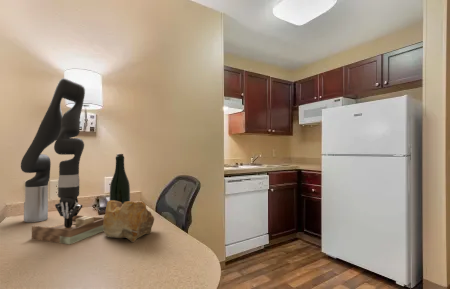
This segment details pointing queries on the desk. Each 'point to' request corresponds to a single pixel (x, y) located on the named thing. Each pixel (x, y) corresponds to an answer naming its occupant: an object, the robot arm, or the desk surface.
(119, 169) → the dark green wine bottle
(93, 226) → the tray
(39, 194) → the robot arm
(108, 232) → the rough brown rock
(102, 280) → the desk surface
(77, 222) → the birch block
